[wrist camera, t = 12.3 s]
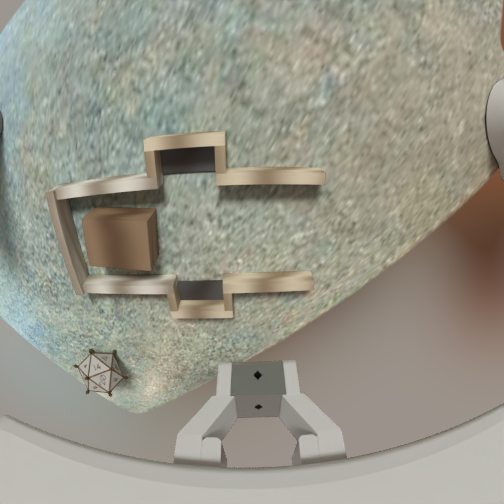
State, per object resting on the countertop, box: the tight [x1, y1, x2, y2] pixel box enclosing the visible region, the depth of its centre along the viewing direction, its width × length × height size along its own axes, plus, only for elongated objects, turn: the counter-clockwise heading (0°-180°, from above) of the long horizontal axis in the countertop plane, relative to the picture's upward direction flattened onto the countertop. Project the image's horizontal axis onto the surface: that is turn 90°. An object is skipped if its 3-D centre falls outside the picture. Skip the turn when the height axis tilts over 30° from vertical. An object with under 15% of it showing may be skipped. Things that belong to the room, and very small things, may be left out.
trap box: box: [46, 131, 326, 318], centre depth 32 cm, size 31×22×3 cm
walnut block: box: [81, 207, 159, 271], centre depth 31 cm, size 8×6×4 cm
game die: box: [73, 349, 128, 397], centre depth 40 cm, size 9×8×10 cm
